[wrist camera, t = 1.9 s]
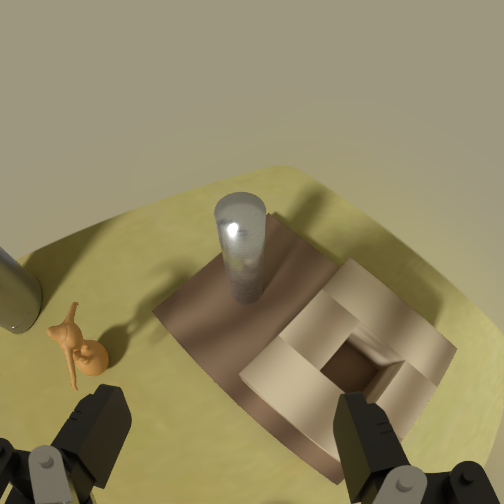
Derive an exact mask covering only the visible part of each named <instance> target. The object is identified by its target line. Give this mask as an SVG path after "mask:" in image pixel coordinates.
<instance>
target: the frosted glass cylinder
mask: <svg viewBox="0 0 504 504" xmlns="http://www.w3.org/2000/svg"><path fill="white" fill-rule="evenodd" d="M215 220H216V225H217V230H218V235H219V240H220V245H221V250H222V255H223V260H224V264H225V269H226V274H227V279H228V283H229V288H230V293H231V296H232V297H233V299H234V300H235V301H237V302H238V303H241V304H252V303H254V302H256V301H257V300H258V299H259V298H260V297H261V295H262V290H263V268H264V245H265V221H266V208H265V205H264V203H263V201H262V200H261V199H260V198H259V197H257V196H255V195H253V194H251V193H247V192H236V193H232V194H229V195H227V196H225V197H223V198H222V199H221V200H220V201H219V202H218V203H217V205H216V207H215Z"/></svg>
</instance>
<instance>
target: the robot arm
mask: <svg viewBox="0 0 504 504" xmlns="http://www.w3.org/2000/svg"><path fill="white" fill-rule="evenodd" d="M41 301H42V290H41V286H40V283H39V281H38V280H37V279H36V278H35V277H34V276H33V275H32V274H30V273H29V272H28V271H27V270H26V269H24V268H23V267H22V266H21V265H20V264H19V263H18V262H17V261H15V260H14V259H13V258H12V257H11V256H10V255H9V254H8V253H6V252H5V251H4V250H3V249H2V248H1V247H0V326H1V327H3V328H5V329H7V330H8V331H10V332H12V333H16V334H19V333H23V332H25V331H26V330H28V329H29V328H30V327H31V326H32V324H33V323H34V321H35V320H36V318H37V316H38V313H39V311H40V307H41ZM131 422H132V418H131V413H130V410H129V408H128V405H127V403H126V400H125V397H124V394H123V391H122V389H121V388H120V387H116V386H111V385H106V384H101V385H99V387H98V388H97V390H96V391H95V393H94V394H89V395H87V396H86V397H85V398H83V399H82V400H80V402H79V403H78V405H77V406H76V407H75V409H74V412H72V413H71V415H70V416H69V419H67V421H66V422H65V424H64V425H63V427H62V428H61V430H60V431H59V433H58V435H57V436H56V438H55V439H54V441H53V442H52V444H51V445H50V446H49V445H42V446H39V447H37V448H35V449H34V450H33V451H32V452H29V451H22V450H17V449H14V447H13V446H12V445H11V443H10V442H9V441H8V440H6V439H4V438H0V499H1V497H2V495H3V493H4V491H5V489H6V487H7V485H8V483H10V484H11V485H12V486H13V487H12V489H11V491H10V493H9V495H8V497H7V499H6V502H5V504H97V503H96V501H95V498H94V495H93V493H92V492H91V490H92V488H93V486H96V487H99V488H102V489H104V488H105V486H106V483H107V481H108V479H109V476H110V474H111V471H112V469H113V467H114V464H115V462H116V460H117V457H118V455H119V453H120V450H121V448H122V446H123V443H124V441H125V439H126V437H127V434H128V432H129V430H130V427H131ZM333 435H334V439H335V443H336V446H337V450H338V454H339V458H340V462H341V466H342V469H343V473H344V477H345V481H346V485H347V489H348V493H349V498H350V502H351V504H354V503H358V502H361V504H500V502H499V500H498V498H497V496H496V494H495V492H494V489H493V487H492V486H491V483H490V481H489V479H488V477H487V475H486V473H485V471H484V469H483V468H482V467H481V465H479V464H478V463H476V462H473V461H464V462H461V463H459V464H457V465H456V466H455V467H454V468H453V469H452V471H450V472H441V473H424V472H423V471H422V470H421V469H419V468H417V467H414V466H411V465H410V463H409V461H408V459H407V457H406V455H405V453H404V451H403V448H402V446H401V444H400V442H399V440H398V438H397V436H396V433H395V432H394V429H393V427H392V425H391V423H390V421H389V419H388V417H387V415H386V413H385V411H384V410H383V409H382V408H381V407H380V406H378V405H377V404H376V403H370V404H367V401H366V399H365V397H364V395H363V393H362V392H361V391H359V392H352V393H344V394H340V396H339V400H338V404H337V408H336V412H335V416H334V420H333Z"/></svg>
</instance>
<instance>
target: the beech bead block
mask: <svg viewBox="0 0 504 504" xmlns="http://www.w3.org/2000/svg"><path fill="white" fill-rule="evenodd" d="M344 341H345V342H346V343H347V344H348V345H349V346H350V347H352V348H353V349H354V350H355V351H356V352H357V353H359V354H360V355H361V356H362V357H363V358H365V359H366V360H367V361H368V362H369V363H371V364H372V365H373V366H374V367H375V368H376V369H378V370H379V371H378V372H377V373H376V375H375V376H374V377H373V379H372V380H371V381H370V383H369V384H368V385H367V387H366V388H365V389H364V390H363V392H362V393H363V395H364V397H365V399H366V401H367V404H370V403H376V404H377V405H378V406H380V407H381V408H382V409H383V410H384V411H385V413H386V415H387V417H388V419H389V421H390V423H391V425H392V427H393V429H394V432H395V433H396V436H397V438H398V440H399V442H400V443H401V441H402V440H403V439H404V437H405V436H406V435H407V433H408V432H409V430H410V429H411V428H412V426H413V425H414V423H415V422H416V420H417V419H418V417H419V416H420V414H421V413H422V411H423V410H424V408H425V407H426V405H427V403H428V402H429V400H430V398H431V397H432V395H433V394H434V392H435V390H436V388H437V387H438V385H439V383H440V381H441V380H442V378H443V376H444V374H445V372H446V370H447V368H448V367H449V365H450V363H451V361H452V359H453V357H454V355H455V353H456V351H457V348H456V347H455V346H454V345H453V344H452V343H451V342H450V341H448V340H447V339H446V338H445V337H444V336H443V335H442V334H441V333H440V332H439V331H437V330H436V329H435V328H434V327H433V326H432V325H431V324H430V323H429V322H427V321H426V320H425V319H424V318H423V317H422V316H421V315H419V314H418V313H417V312H416V311H415V310H414V309H413V308H411V307H410V306H409V305H408V304H407V303H406V302H404V301H403V300H402V299H401V298H400V297H398V296H397V295H396V294H395V293H394V292H393V291H391V290H390V289H389V288H388V287H387V286H385V285H384V284H383V283H382V282H380V281H379V280H378V279H377V278H376V277H374V276H373V275H372V274H371V273H369V272H368V271H367V270H366V269H365V268H363V267H362V266H361V265H360V264H358V263H357V262H356V261H354V260H353V259H352V258H351V257H349V259H348V260H347V261H346V262H345V263H344V264H343V266H342V267H341V268H340V269H339V270H338V271H337V272H336V274H335V275H334V276H333V277H332V278H331V279H330V280H329V282H328V283H327V284H326V285H325V286H324V287H323V288H322V289H321V290H320V292H319V293H318V294H317V295H316V296H315V297H314V298H313V299H312V300H311V301H310V303H309V304H308V305H307V306H306V307H305V308H304V309H303V310H302V311H301V312H300V313H299V314H298V315H297V316H296V317H295V318H294V320H293V321H292V322H291V323H290V324H289V325H288V326H287V327H286V328H285V329H284V330H283V331H282V332H281V333H280V334H279V335H278V336H277V337H276V338H275V339H274V340H273V341H272V342H271V343H270V344H269V345H268V346H267V347H266V348H265V349H264V350H263V351H262V352H261V353H260V354H259V355H258V356H257V357H256V358H255V359H254V360H253V361H252V362H251V363H250V364H249V365H248V366H247V367H245V368H244V369H243V370H242V371H241V372H240V373H239V375H240V377H241V379H242V380H243V381H244V382H245V383H246V384H247V385H248V386H249V387H250V388H251V389H252V390H253V391H254V392H255V393H257V394H258V395H259V396H260V397H261V398H262V399H263V400H264V401H265V402H266V403H268V404H269V405H270V406H271V407H272V408H273V409H274V410H275V411H277V412H278V413H279V414H280V415H281V416H282V417H283V418H285V419H286V420H287V421H288V422H289V423H291V424H292V425H293V426H294V427H295V428H296V429H298V430H299V431H300V432H301V433H303V434H304V435H305V436H306V437H307V438H309V439H310V440H311V441H312V442H314V443H315V444H316V445H318V446H319V447H320V448H321V449H323V450H324V451H325V452H327V453H328V454H329V455H331V456H332V457H333V458H335V459H336V460H337V461H339V462H340V458H339V454H338V450H337V446H336V443H335V439H334V435H333V420H334V416H335V412H336V408H337V404H338V400H339V396H340V394H344V393H345V392H343V391H342V390H341V389H340V388H339V387H337V386H336V385H335V384H334V383H333V382H332V381H330V380H329V379H328V378H327V377H326V376H324V375H323V374H322V373H321V372H320V370H321V368H322V367H323V366H324V365H325V364H326V363H327V362H328V360H329V359H330V358H331V357H332V356H333V355H334V353H335V352H336V351H337V350H338V349H339V347H340V346H341V345H342V344H343V343H344ZM340 463H341V462H340Z"/></svg>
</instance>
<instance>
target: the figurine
mask: <svg viewBox="0 0 504 504" xmlns="http://www.w3.org/2000/svg"><path fill="white" fill-rule="evenodd" d="M77 305H78V303H77V302H73V303H72V305H71V307H70V309H69V312H68V315H67V317H66V318H65V320H64V322H63V323H62V324H60V325H57V326H52V327H49V328H48V329H47V334H48V336H50V337H51V338H52V339H54V340H55V341H57V342H58V343H59V344H60V346H61V348H62V349H63V350H64V353H65V355H66V358H67V364H68V368H69V371H70V375H71V382H72V384H71V385H72V386H73V388H74V389H75V390H78V389H77V387H76V374H75V365H74V361H75V362H76V365H77V367H78V368H79V369H80V370H81V371H82V372H83V373H85V374H87V375H89V376H98V375H100V374H102V373H103V372H104V371H105V370H106V369H107V367H108V364H109V356H108V353H107V351H106V349H105V347H104V346H103V345H102V344H100V343H99V342H97V341H94V340H84V339H83V336H82V332H81V330H80V329H79V327H78V326H77V325H76V324H75V323H74V315H75V311H76V307H77Z"/></svg>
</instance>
